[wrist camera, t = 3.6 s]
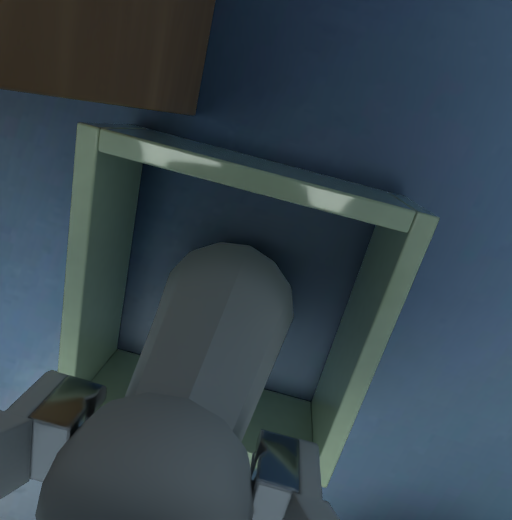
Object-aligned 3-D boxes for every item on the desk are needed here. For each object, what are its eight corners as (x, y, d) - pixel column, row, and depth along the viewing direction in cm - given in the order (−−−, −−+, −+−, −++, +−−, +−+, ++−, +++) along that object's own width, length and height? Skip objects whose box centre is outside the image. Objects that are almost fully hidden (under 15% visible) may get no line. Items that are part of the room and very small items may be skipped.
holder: (102, 356, 21) (53, 412, 17) (131, 123, 17) (76, 121, 13) (321, 416, 21) (326, 488, 17) (405, 195, 17) (441, 217, 13)
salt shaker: (235, 204, 18) (98, 367, 6) (318, 288, 19) (360, 588, 6) (156, 283, 20) (-81, 542, 7) (236, 356, 20) (145, 696, 8)
